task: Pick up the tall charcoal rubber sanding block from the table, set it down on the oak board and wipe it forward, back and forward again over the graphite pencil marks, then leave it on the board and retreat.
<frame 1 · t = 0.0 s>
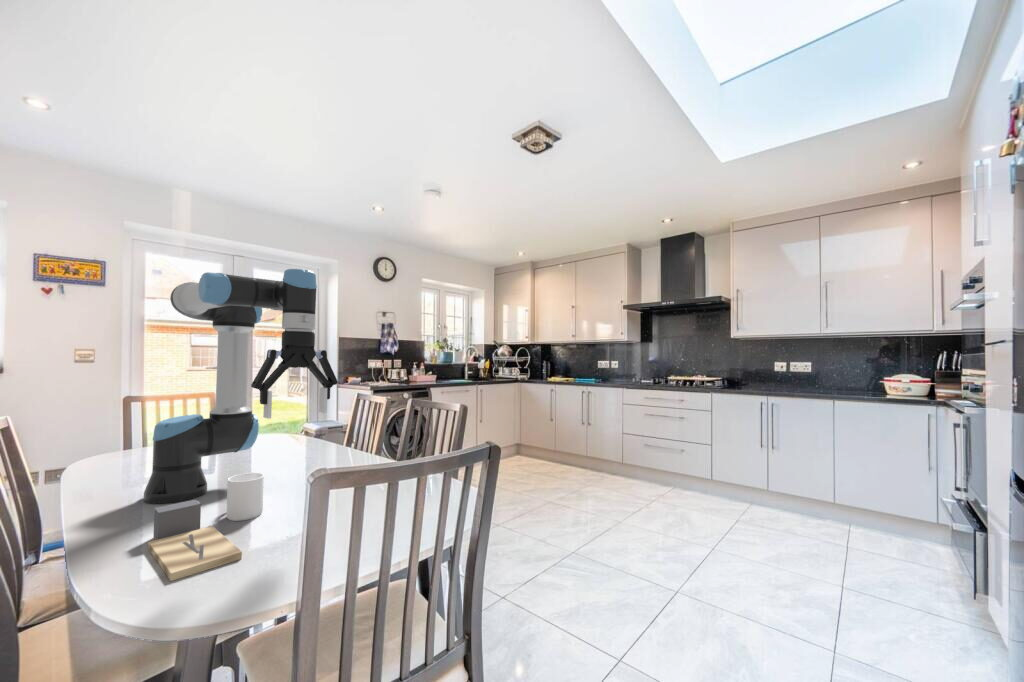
hand: (296, 415, 109), 28 cm above the table, fingers open, 13 cm apart
sanding block: (177, 535, 102), on the table
cup: (241, 514, 116), on the table
board: (193, 553, 93), on the table
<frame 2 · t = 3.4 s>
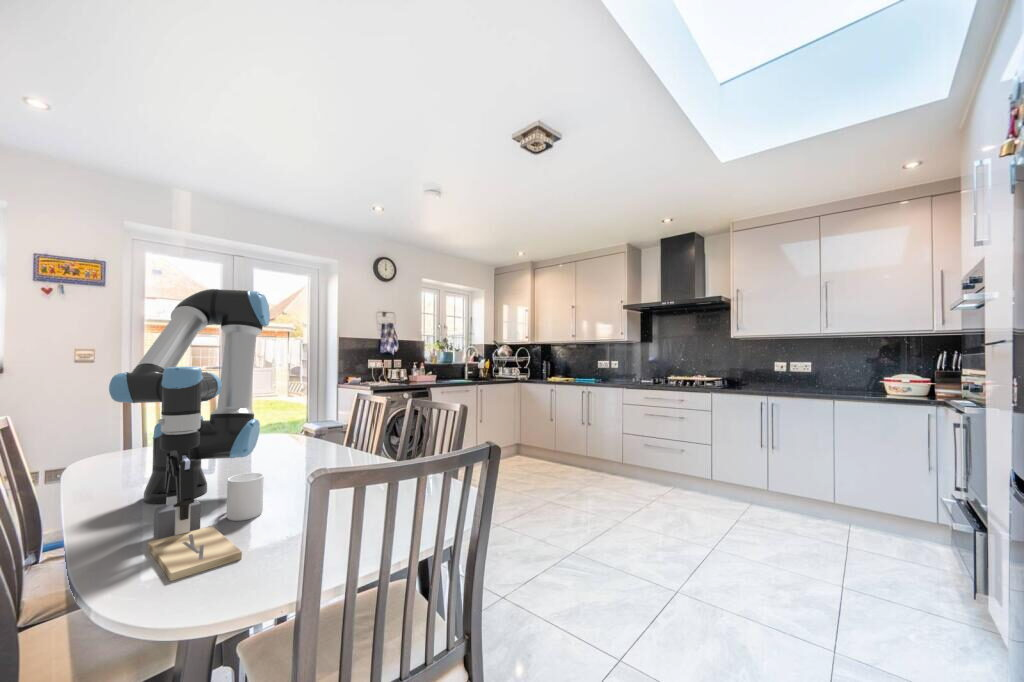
hand: (177, 527, 102), 2 cm above the table, fingers open, 8 cm apart
nothing on the table moved.
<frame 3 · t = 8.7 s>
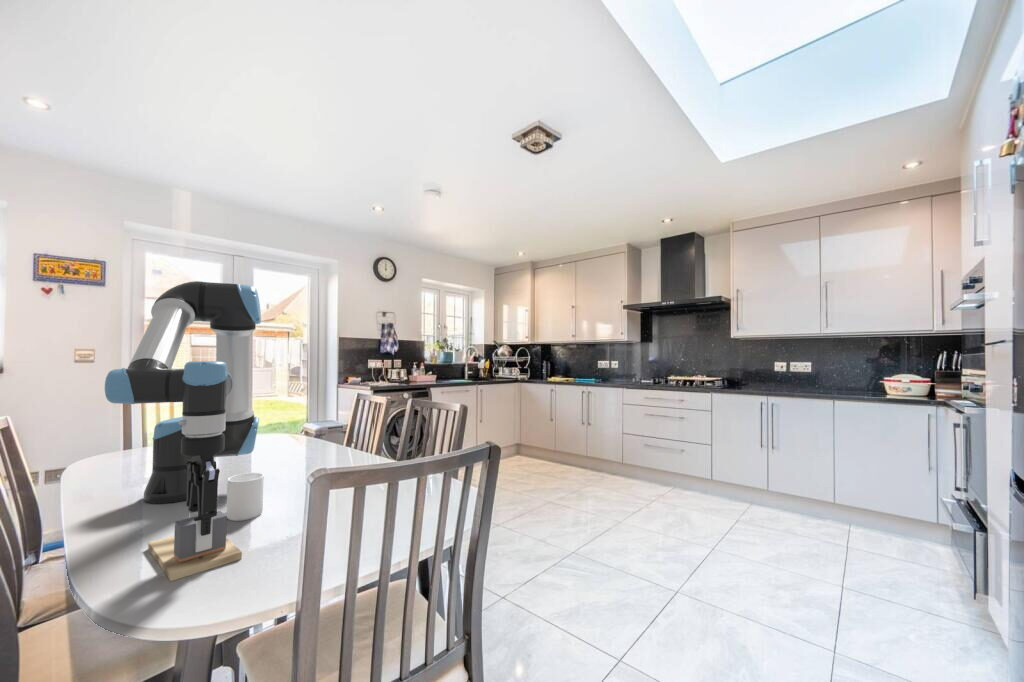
hand: (199, 545, 90), 3 cm above the table, fingers closed on sanding block, 4 cm apart
sanding block: (200, 552, 90), point 2 cm above the table, touching gripper
everything else where it was.
when the fingers open (3 cm above the table, at t = 13.6 s): sanding block stays where it is, resting on board.
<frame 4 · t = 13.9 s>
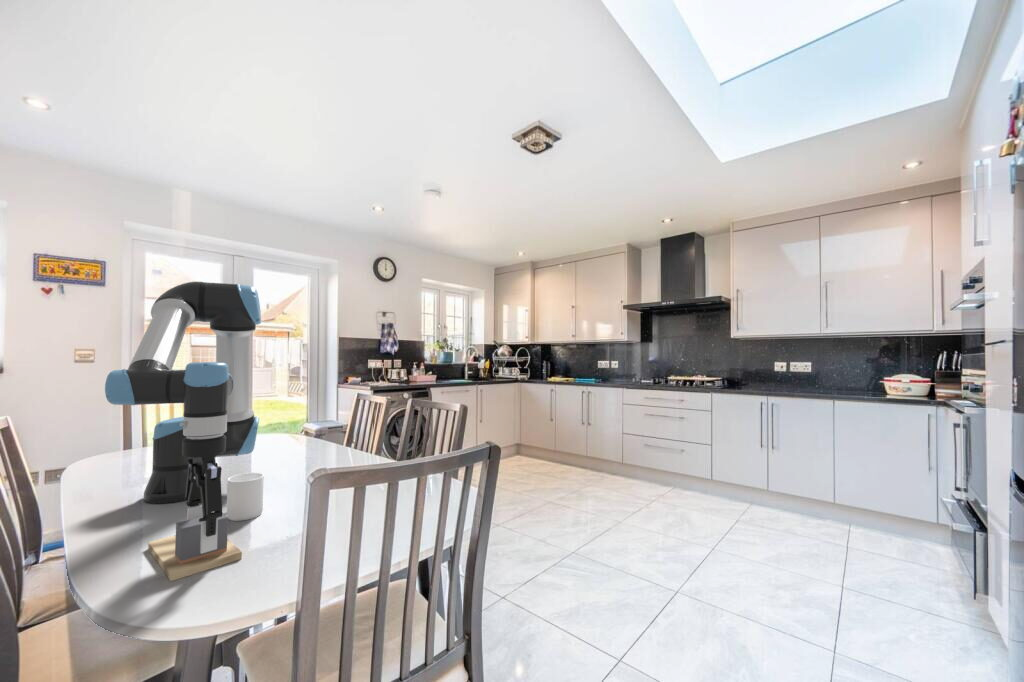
hand: (201, 543, 90), 4 cm above the table, fingers open, 9 cm apart
sanding block: (201, 553, 90), point 2 cm above the table, touching board
everything else where it was.
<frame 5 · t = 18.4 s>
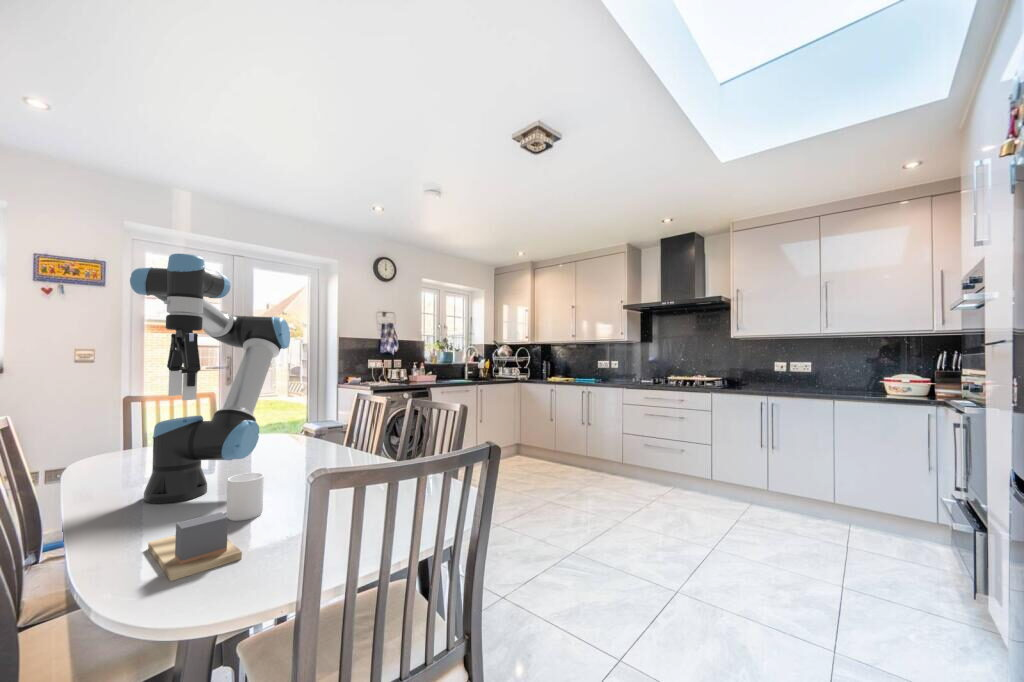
hand: (181, 397, 110), 32 cm above the table, fingers open, 13 cm apart
nothing on the table moved.
at the end: sanding block inside the target area on the board (5.0 cm from its centre), point 1.5 cm above the board's base; sanding block moved 19.0 cm from its start; sanding block tilted 0° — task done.
